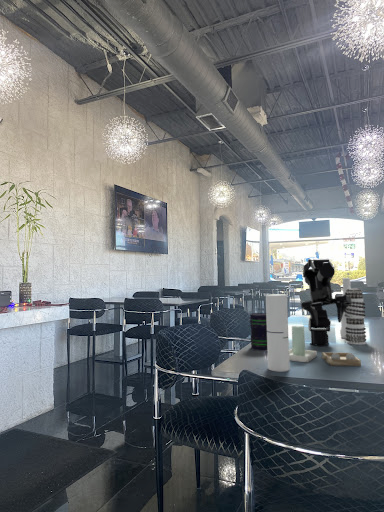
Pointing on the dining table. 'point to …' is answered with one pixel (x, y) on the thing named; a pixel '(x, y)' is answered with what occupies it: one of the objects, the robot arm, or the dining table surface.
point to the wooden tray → (340, 360)
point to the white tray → (308, 356)
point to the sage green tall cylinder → (298, 340)
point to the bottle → (343, 321)
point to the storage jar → (258, 331)
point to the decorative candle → (355, 318)
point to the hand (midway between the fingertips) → (327, 323)
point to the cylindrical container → (277, 332)
